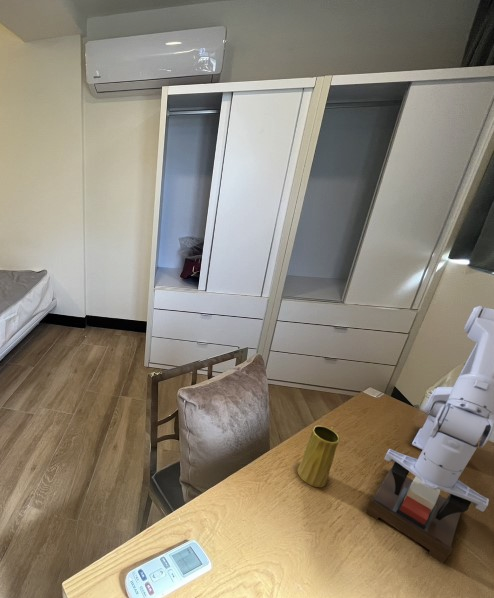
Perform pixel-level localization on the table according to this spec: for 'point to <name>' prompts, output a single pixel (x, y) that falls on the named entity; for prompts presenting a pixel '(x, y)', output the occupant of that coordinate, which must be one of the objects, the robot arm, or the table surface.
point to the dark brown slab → (431, 537)
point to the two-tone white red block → (418, 503)
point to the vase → (318, 456)
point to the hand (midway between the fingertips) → (417, 503)
